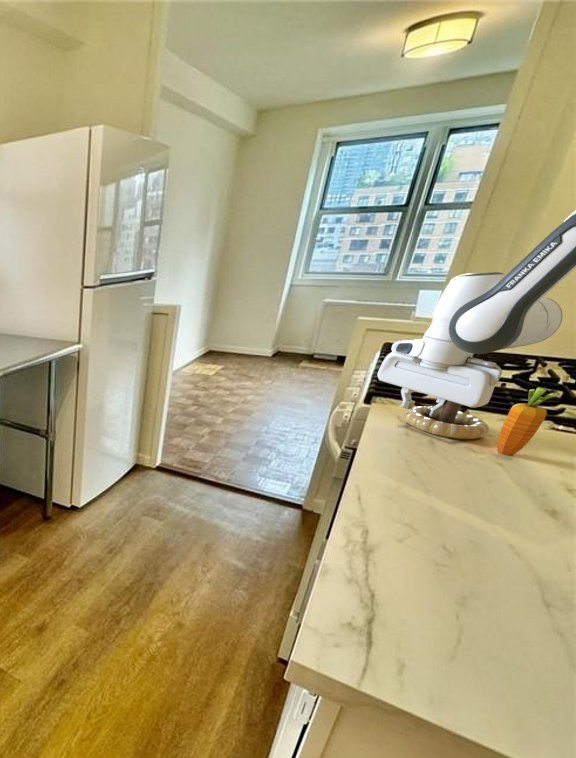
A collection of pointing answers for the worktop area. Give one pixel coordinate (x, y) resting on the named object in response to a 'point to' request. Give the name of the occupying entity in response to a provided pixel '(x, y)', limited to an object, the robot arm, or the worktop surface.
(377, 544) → the worktop surface
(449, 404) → the brown peg stand
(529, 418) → the carrot
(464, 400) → the robot arm
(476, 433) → the bracelet
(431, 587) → the worktop surface
